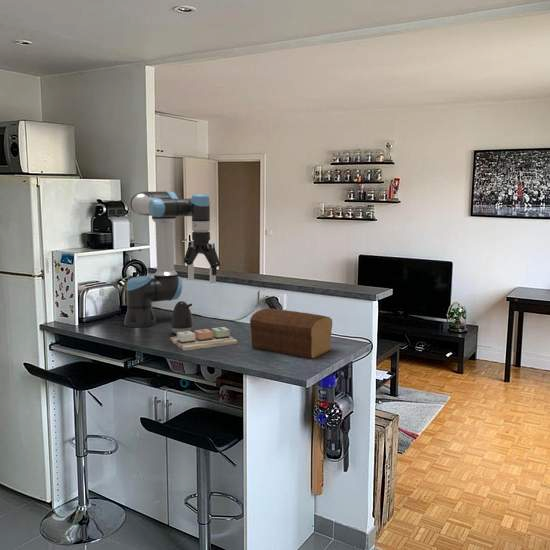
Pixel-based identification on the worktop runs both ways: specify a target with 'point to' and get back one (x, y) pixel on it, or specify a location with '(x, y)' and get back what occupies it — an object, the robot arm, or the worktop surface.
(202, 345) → the board
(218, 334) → the tile three
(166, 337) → the worktop surface
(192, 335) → the tile one
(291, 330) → the bread
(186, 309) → the pump dispenser
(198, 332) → the tile two
